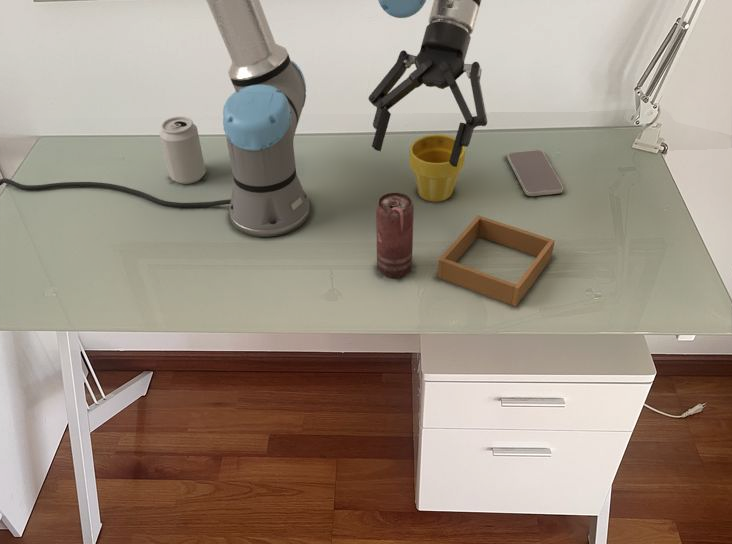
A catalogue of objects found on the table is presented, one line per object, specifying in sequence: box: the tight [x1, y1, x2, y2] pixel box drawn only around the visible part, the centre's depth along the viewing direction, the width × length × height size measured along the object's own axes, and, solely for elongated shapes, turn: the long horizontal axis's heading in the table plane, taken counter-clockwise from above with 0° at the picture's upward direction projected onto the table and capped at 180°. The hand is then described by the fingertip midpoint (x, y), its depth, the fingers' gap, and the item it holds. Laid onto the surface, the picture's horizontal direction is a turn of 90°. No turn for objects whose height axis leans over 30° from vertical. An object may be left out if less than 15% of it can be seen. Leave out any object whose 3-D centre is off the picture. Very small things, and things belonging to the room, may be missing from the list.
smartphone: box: [507, 149, 564, 197], centre depth 150 cm, size 7×1×15 cm
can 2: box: [375, 192, 415, 279], centre depth 128 cm, size 6×6×14 cm
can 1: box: [159, 116, 207, 185], centre depth 153 cm, size 8×8×12 cm
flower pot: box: [409, 133, 466, 203], centre depth 145 cm, size 10×10×10 cm
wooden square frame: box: [437, 215, 556, 308], centre depth 130 cm, size 15×15×4 cm
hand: (413, 156), depth 126 cm, fingers open, 13 cm apart
